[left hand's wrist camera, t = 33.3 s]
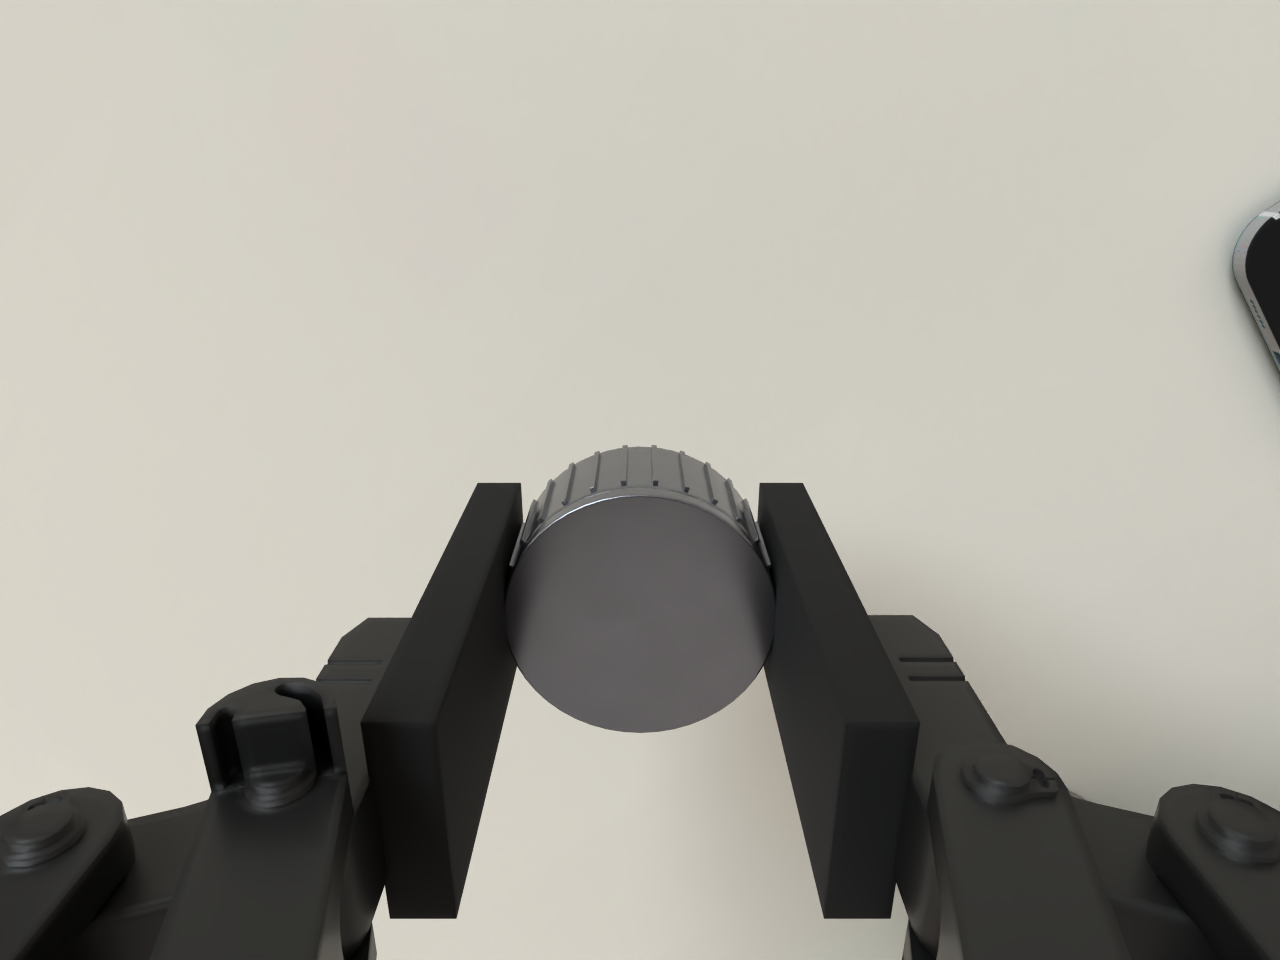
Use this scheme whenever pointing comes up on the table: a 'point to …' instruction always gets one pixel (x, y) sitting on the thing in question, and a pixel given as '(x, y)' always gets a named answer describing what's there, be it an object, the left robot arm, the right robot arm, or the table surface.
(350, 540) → the table surface
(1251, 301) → the smartphone
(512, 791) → the table surface
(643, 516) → the cap
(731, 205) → the table surface
